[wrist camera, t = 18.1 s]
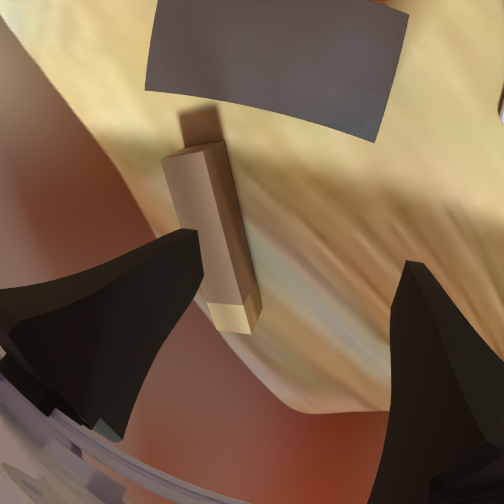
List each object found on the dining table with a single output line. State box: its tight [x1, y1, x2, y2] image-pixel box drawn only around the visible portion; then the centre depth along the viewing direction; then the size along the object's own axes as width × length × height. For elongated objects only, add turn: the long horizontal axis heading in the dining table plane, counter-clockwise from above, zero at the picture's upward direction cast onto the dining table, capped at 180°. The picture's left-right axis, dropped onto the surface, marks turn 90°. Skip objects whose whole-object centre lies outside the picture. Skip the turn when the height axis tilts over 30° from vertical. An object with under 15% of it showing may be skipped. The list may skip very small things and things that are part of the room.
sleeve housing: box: [145, 0, 409, 143], centre depth 12 cm, size 11×6×5 cm, turn 79°
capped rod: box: [161, 140, 262, 334], centre depth 21 cm, size 3×14×3 cm, turn 12°
